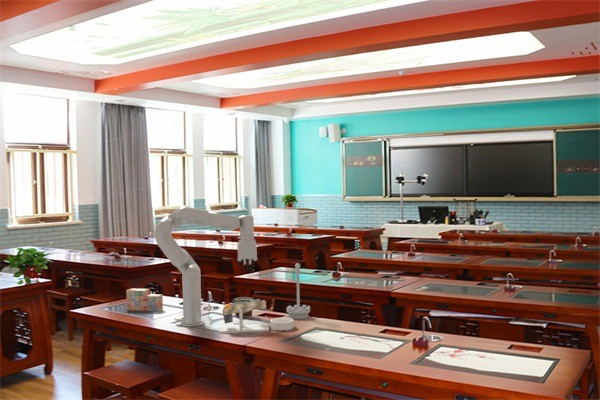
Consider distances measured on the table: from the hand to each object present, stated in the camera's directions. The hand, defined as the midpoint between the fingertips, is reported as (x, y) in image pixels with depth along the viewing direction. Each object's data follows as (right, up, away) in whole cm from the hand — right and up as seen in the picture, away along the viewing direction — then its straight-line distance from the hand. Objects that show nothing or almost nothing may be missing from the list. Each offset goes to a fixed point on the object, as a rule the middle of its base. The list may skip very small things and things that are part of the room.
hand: (247, 271), depth 319 cm
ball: (-9, -16, -19) cm, 26 cm away
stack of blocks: (-65, -28, +34) cm, 78 cm away
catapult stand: (0, -28, -17) cm, 33 cm away
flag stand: (+28, -27, +10) cm, 40 cm away
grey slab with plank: (0, -22, -12) cm, 25 cm away
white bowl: (+19, -27, -15) cm, 37 cm away
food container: (-3, -27, +15) cm, 31 cm away
